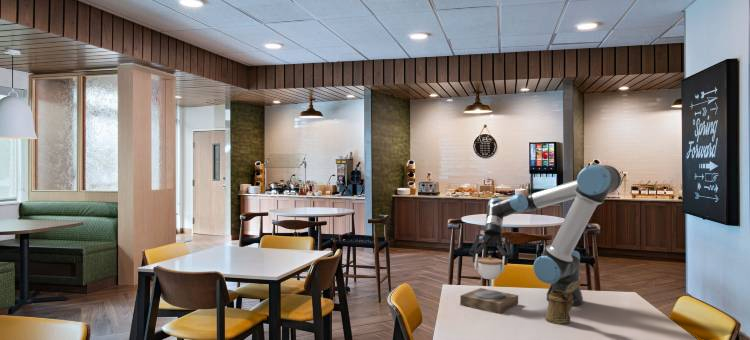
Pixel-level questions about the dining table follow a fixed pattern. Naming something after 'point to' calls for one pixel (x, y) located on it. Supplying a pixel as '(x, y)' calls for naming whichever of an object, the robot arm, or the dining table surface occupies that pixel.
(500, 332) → the dining table surface
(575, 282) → the wooden mug
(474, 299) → the walnut plinth
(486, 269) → the lidded jar
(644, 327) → the dining table surface
